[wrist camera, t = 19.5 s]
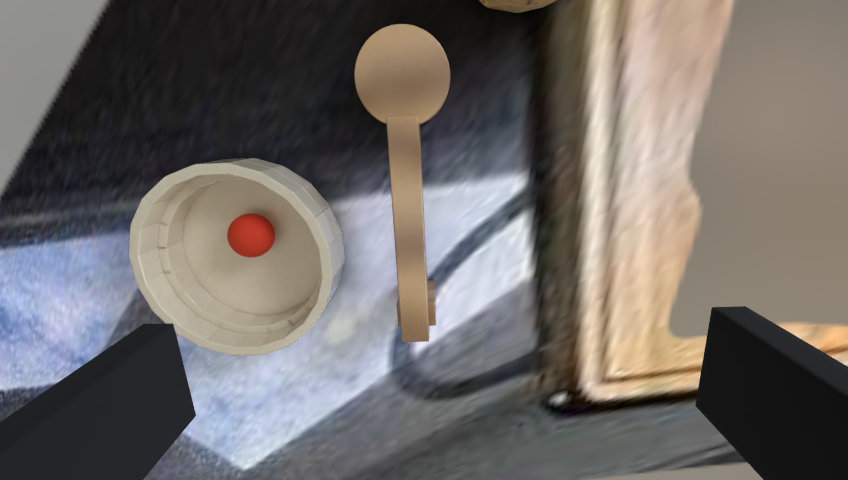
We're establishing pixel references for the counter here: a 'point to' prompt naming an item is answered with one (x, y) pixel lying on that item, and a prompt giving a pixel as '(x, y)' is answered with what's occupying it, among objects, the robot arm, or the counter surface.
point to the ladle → (406, 151)
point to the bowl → (236, 255)
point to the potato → (516, 4)
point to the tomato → (251, 235)
